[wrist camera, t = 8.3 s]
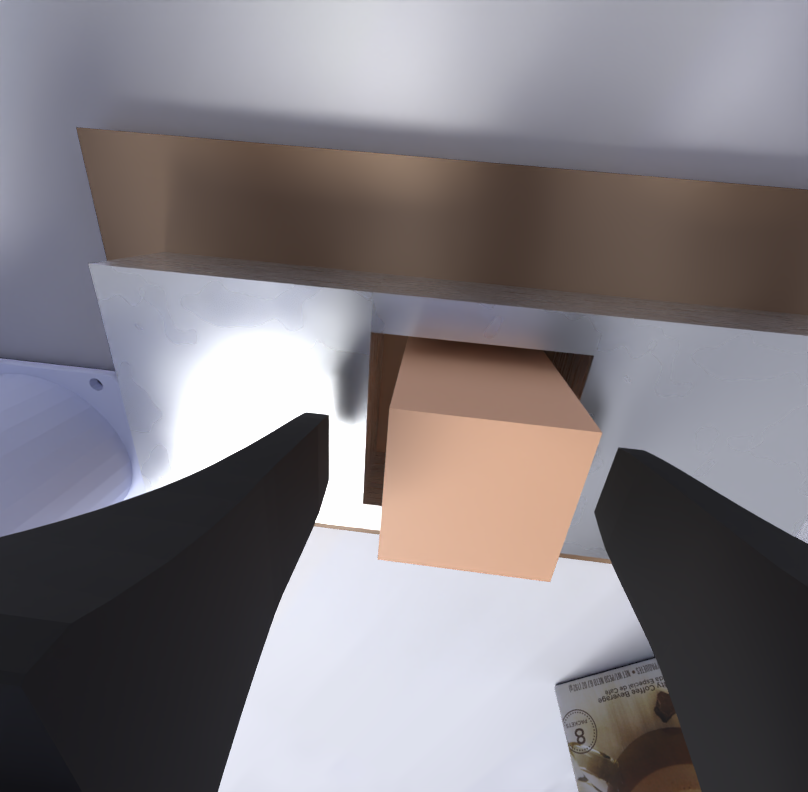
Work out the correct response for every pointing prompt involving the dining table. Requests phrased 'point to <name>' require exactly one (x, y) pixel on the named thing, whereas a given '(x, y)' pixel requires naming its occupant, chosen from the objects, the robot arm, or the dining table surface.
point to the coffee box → (625, 732)
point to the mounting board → (450, 224)
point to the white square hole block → (457, 321)
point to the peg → (482, 459)
